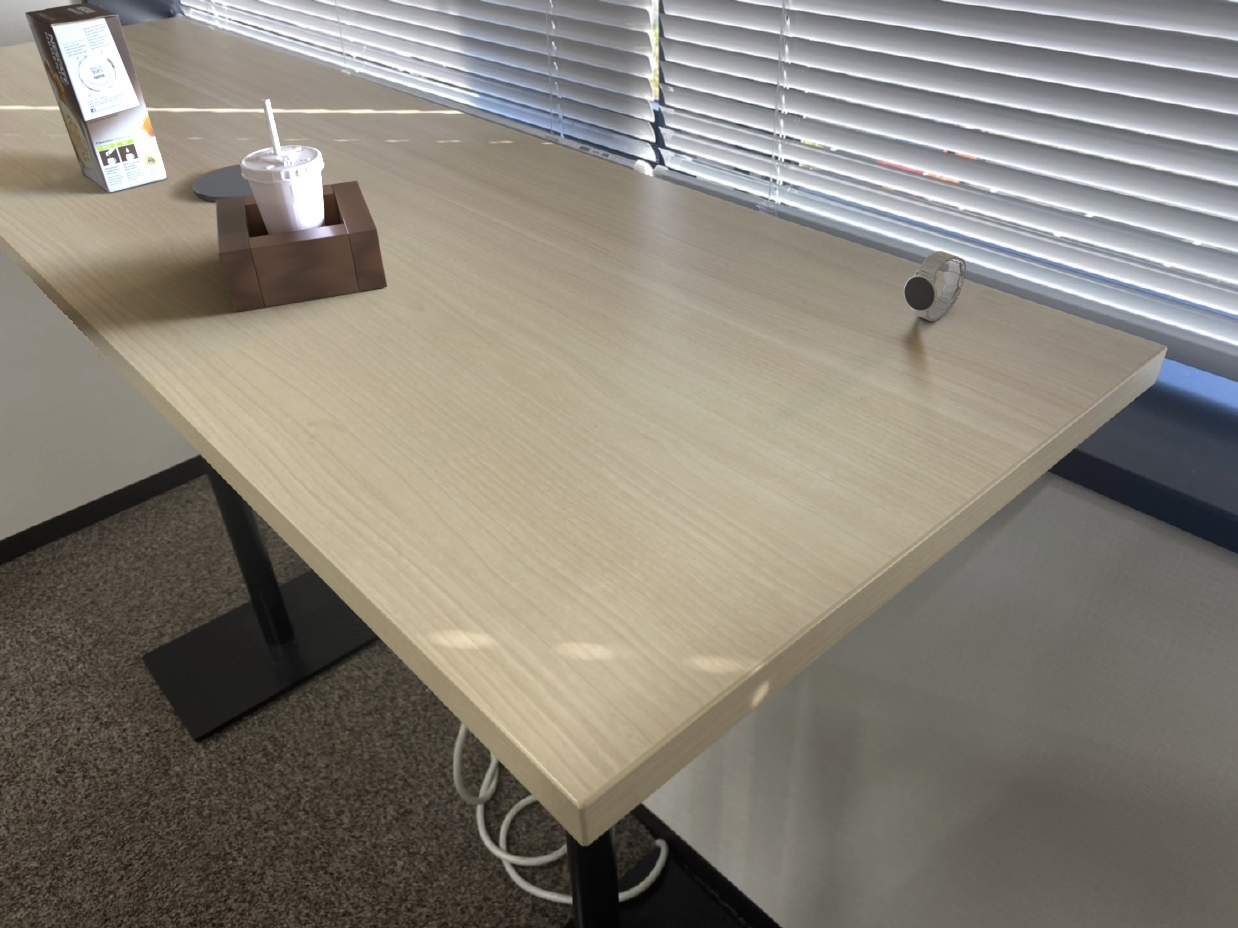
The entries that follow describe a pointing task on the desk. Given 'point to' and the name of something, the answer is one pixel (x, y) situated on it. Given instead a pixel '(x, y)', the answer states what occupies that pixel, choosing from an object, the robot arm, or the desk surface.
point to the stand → (299, 252)
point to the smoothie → (285, 183)
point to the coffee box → (98, 94)
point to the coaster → (222, 184)
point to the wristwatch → (924, 291)
